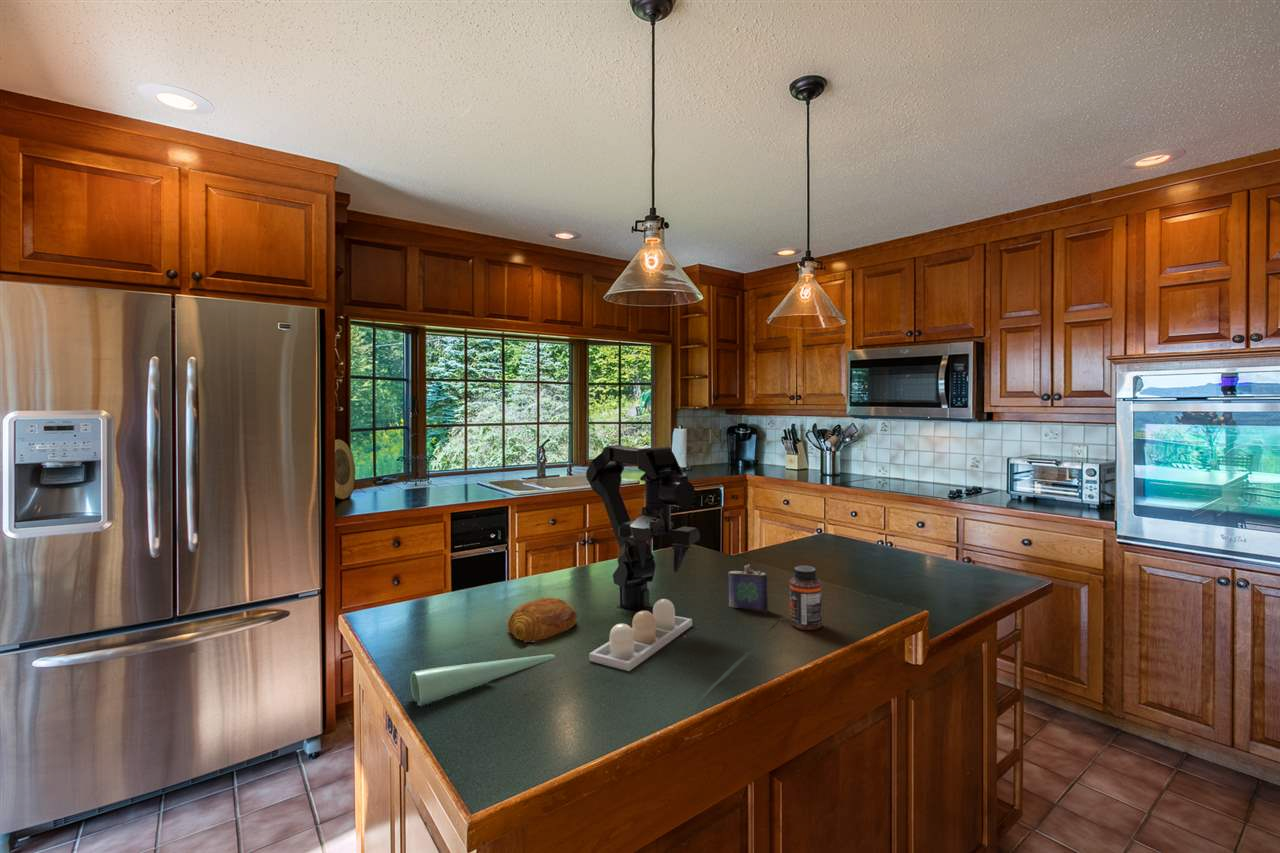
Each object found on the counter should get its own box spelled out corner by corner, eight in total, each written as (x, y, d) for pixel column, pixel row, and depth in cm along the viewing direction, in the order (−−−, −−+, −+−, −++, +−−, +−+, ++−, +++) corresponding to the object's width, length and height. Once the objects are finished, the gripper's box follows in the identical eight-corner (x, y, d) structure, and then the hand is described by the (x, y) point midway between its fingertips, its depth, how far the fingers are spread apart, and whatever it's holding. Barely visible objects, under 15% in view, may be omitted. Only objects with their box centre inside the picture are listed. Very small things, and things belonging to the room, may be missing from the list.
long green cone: (561, 636, 112) (419, 678, 96) (562, 665, 112) (420, 711, 96) (548, 629, 116) (409, 667, 100) (548, 656, 116) (410, 698, 100)
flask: (728, 609, 140) (727, 565, 140) (730, 605, 143) (729, 562, 142) (767, 613, 137) (766, 568, 137) (768, 609, 140) (767, 564, 139)
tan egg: (640, 635, 123) (640, 605, 123) (660, 640, 121) (659, 609, 121) (628, 643, 119) (627, 612, 119) (648, 648, 117) (647, 616, 117)
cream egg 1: (605, 658, 112) (604, 626, 112) (618, 649, 116) (618, 618, 116) (625, 664, 110) (624, 630, 110) (639, 654, 114) (638, 622, 114)
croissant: (587, 638, 130) (591, 602, 130) (529, 650, 119) (533, 610, 119) (548, 621, 140) (552, 588, 141) (492, 630, 129) (496, 594, 130)
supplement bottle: (785, 620, 132) (784, 564, 131) (814, 619, 132) (814, 563, 132) (796, 632, 125) (795, 572, 124) (826, 630, 125) (826, 571, 125)
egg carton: (589, 663, 112) (589, 653, 112) (656, 620, 133) (656, 612, 133) (629, 674, 107) (628, 663, 107) (692, 628, 129) (692, 619, 129)
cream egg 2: (649, 630, 126) (648, 601, 126) (660, 623, 130) (659, 594, 130) (668, 634, 124) (667, 604, 124) (679, 626, 128) (678, 598, 128)
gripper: (603, 503, 131) (605, 572, 132) (675, 511, 121) (676, 585, 122) (631, 496, 141) (632, 560, 141) (700, 502, 130) (701, 571, 131)
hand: (658, 569), depth 133 cm, fingers open, 9 cm apart
